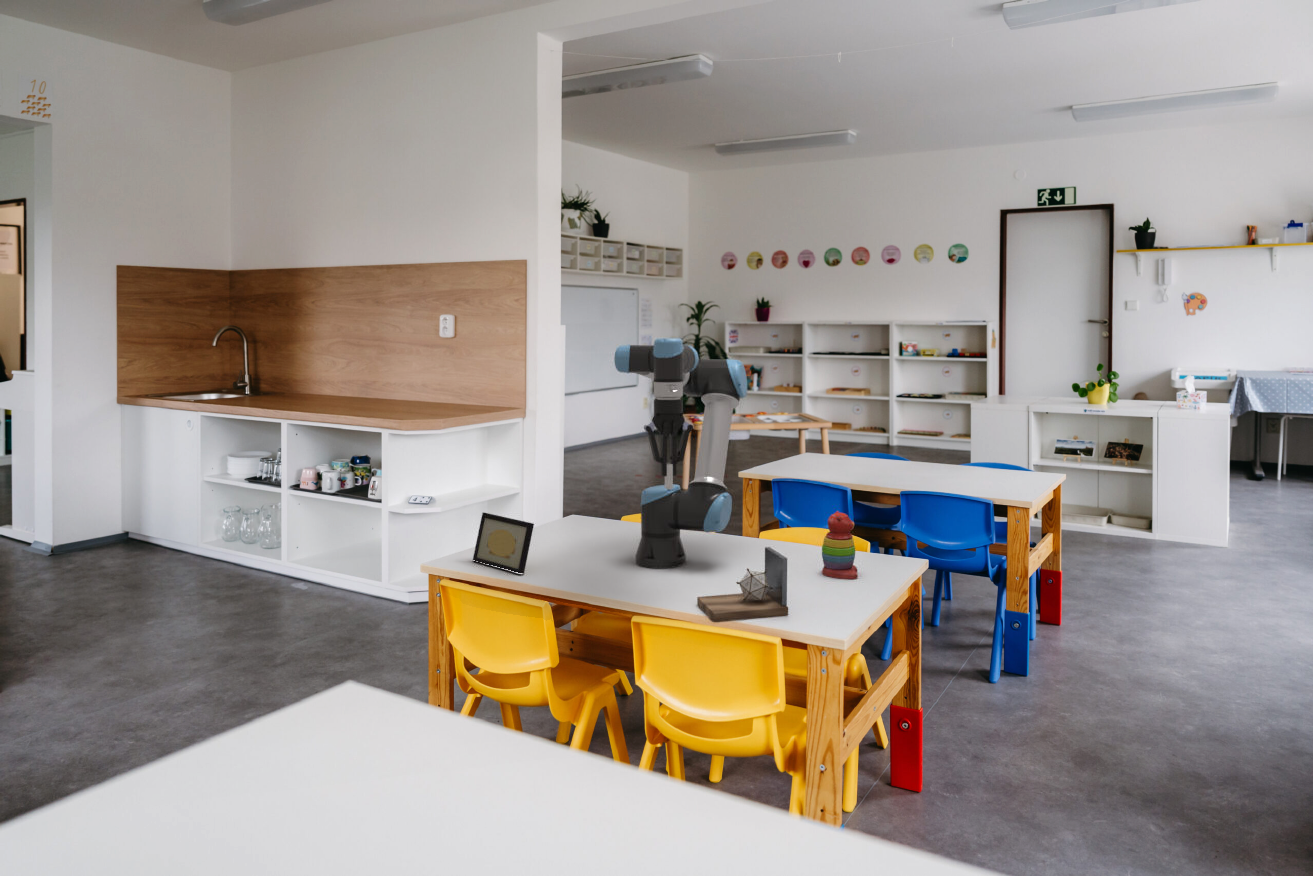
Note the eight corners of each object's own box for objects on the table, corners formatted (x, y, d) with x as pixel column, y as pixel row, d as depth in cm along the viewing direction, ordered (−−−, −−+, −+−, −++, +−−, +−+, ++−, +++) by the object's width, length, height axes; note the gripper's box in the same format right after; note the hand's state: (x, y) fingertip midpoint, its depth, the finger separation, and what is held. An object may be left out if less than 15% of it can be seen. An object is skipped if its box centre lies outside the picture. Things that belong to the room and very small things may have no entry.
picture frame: (472, 562, 273) (475, 512, 272) (496, 559, 279) (499, 511, 279) (520, 575, 257) (523, 523, 256) (544, 573, 264) (547, 522, 263)
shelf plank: (697, 604, 230) (697, 597, 229) (767, 598, 234) (767, 591, 234) (714, 621, 216) (714, 613, 216) (788, 615, 221) (788, 607, 221)
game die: (747, 613, 227) (732, 578, 231) (778, 601, 228) (762, 566, 231) (746, 606, 219) (731, 569, 223) (778, 593, 219) (762, 557, 223)
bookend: (764, 592, 233) (764, 547, 231) (768, 592, 233) (769, 546, 232) (782, 606, 221) (782, 558, 220) (786, 606, 222) (787, 558, 220)
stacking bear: (857, 580, 251) (859, 517, 249) (821, 578, 253) (822, 516, 251) (857, 569, 262) (858, 509, 260) (821, 568, 264) (822, 508, 262)
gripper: (647, 399, 228) (647, 492, 231) (696, 398, 231) (696, 489, 234) (640, 397, 235) (641, 487, 238) (688, 396, 238) (688, 484, 241)
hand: (668, 488), depth 236 cm, fingers closed
